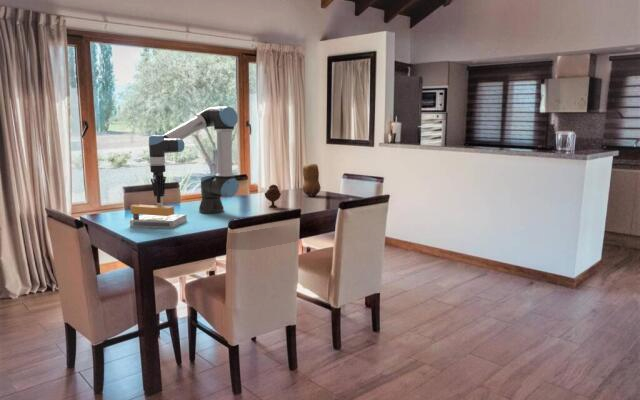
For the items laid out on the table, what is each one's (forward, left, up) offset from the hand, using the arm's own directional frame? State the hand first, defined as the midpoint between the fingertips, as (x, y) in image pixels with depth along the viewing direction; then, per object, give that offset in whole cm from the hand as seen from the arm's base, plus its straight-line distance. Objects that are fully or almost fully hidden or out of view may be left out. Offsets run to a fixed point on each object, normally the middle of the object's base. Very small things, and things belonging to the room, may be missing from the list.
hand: (160, 208), depth 260 cm
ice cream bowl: (-65, +47, -10) cm, 81 cm away
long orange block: (+3, -4, -2) cm, 5 cm away
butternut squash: (-117, +65, -10) cm, 135 cm away
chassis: (-4, -3, -10) cm, 11 cm away
